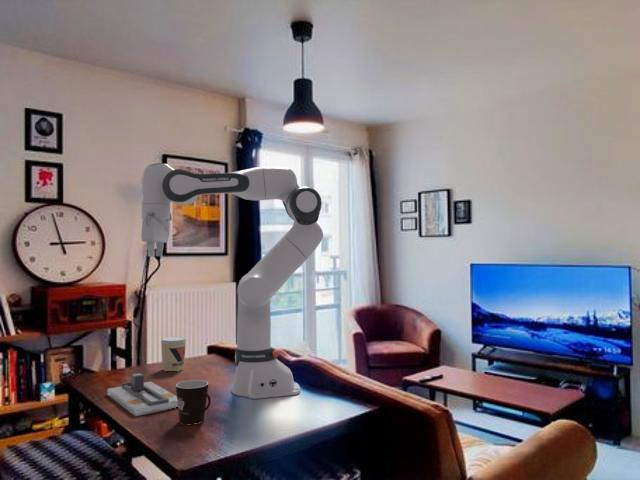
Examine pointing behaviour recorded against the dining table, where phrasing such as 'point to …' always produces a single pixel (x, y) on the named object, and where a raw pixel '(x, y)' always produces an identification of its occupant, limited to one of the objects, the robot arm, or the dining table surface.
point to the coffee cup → (173, 353)
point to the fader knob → (137, 381)
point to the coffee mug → (192, 400)
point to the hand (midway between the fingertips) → (155, 256)
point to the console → (143, 398)
